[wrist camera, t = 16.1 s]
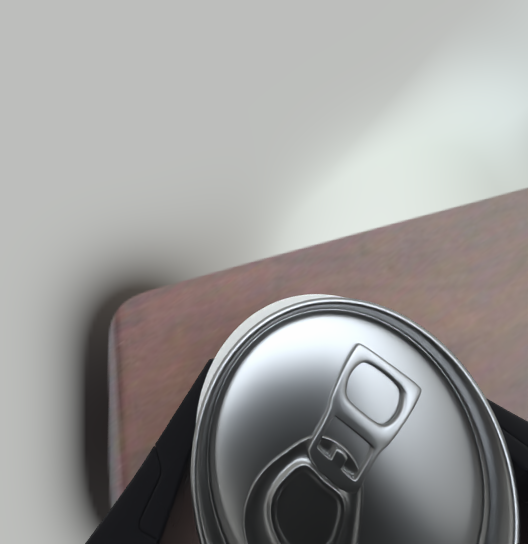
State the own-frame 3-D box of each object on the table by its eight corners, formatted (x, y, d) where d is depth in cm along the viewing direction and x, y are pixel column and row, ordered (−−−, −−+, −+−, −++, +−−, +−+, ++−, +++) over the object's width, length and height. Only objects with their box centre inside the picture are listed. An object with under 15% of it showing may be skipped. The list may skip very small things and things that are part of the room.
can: (221, 377, 15) (81, 498, 4) (276, 304, 17) (302, 224, 5) (296, 444, 14) (457, 960, 2) (348, 359, 15) (597, 416, 4)
